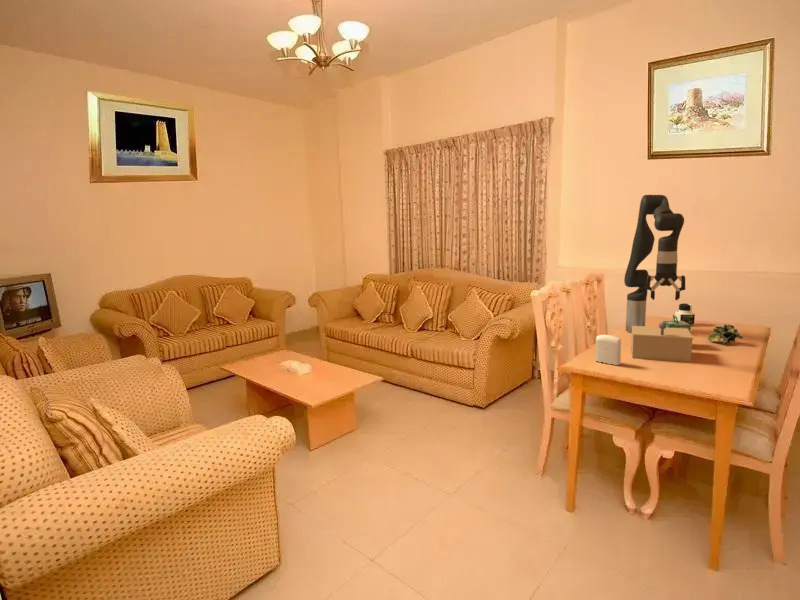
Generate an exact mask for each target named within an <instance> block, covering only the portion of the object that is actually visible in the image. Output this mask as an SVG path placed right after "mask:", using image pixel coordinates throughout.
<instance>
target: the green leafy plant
mask: <svg viewBox="0 0 800 600" xmlns="http://www.w3.org/2000/svg"><path fill="white" fill-rule="evenodd" d="M714 327H715V328H713V331H712V332H711V334H710V335H709V336H708V337H707V338H706V339H707V341H709V342H711V341H712V340H714V339H717V340H718V342H719V343H721V340H722V344H721V346H723V345H724V344H725V343H726V342H727V343H731V342H733V343H735V342H736V338H739V339H744V337H743V336H742V335H740V332H738V331H739V330H738V329H737V328H735V326H734V325H731V324H727V323H724V325H720V326H718V325H714Z"/></svg>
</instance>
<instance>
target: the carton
mask: <svg viewBox="0 0 800 600" xmlns="http://www.w3.org/2000/svg"><path fill="white" fill-rule="evenodd" d="M630 349H631V356H632V358H633V359H639V358H642V359H641V360H655V361H667V362H678V363H679V362H680V363H691V362H692V352H693V351H692V349H693V339H677V338H659V337H642V336H633V332H631V347H630Z"/></svg>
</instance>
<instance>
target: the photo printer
mask: <svg viewBox="0 0 800 600" xmlns="http://www.w3.org/2000/svg"><path fill="white" fill-rule="evenodd" d="M621 354H622V340H621V338H619V337H618V336H615V335H611V334H599V335H596V338H595V362H596V361H598V362H597V363H601V362H603V364H606V363H607V364H606V365H612V364H613V366H620V365H621V360H622V359H621V357H622V356H621Z"/></svg>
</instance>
